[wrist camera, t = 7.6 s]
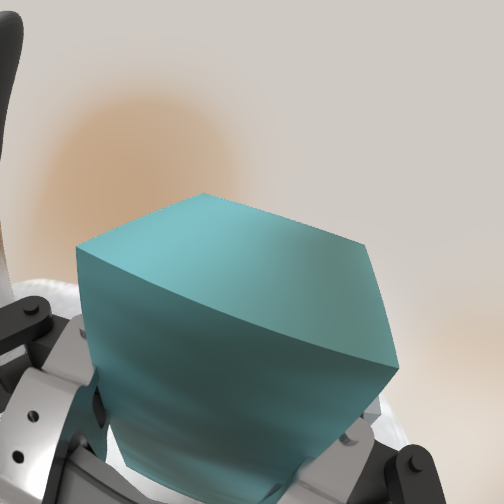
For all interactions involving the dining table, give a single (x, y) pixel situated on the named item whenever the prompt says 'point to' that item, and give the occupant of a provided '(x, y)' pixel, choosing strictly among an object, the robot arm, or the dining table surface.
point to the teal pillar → (230, 343)
